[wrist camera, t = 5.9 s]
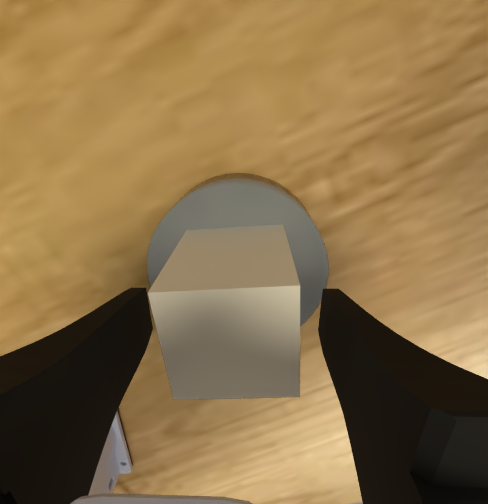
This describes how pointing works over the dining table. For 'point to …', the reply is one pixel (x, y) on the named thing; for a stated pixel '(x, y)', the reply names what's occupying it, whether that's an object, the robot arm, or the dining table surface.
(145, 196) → the dining table surface
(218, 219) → the grey disc
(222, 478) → the dining table surface
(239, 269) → the cream block
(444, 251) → the dining table surface
